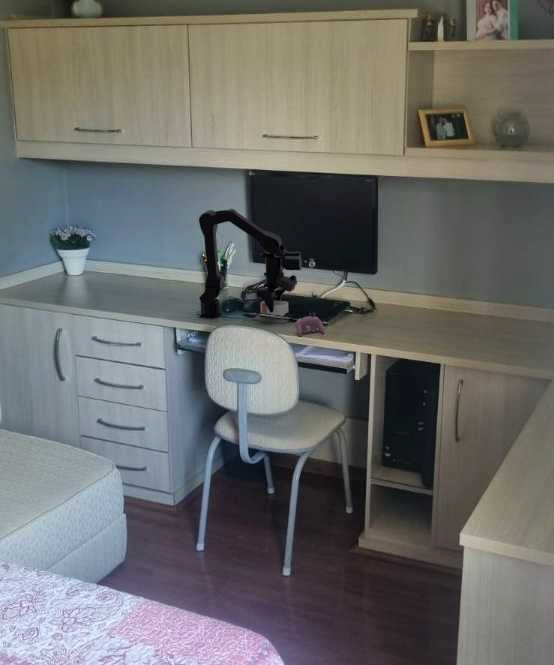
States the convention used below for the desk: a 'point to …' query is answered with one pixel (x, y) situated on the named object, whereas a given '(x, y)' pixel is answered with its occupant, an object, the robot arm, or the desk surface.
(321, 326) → the video game controller
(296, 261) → the robot arm
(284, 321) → the desk mat
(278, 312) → the card deck box
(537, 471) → the desk surface
